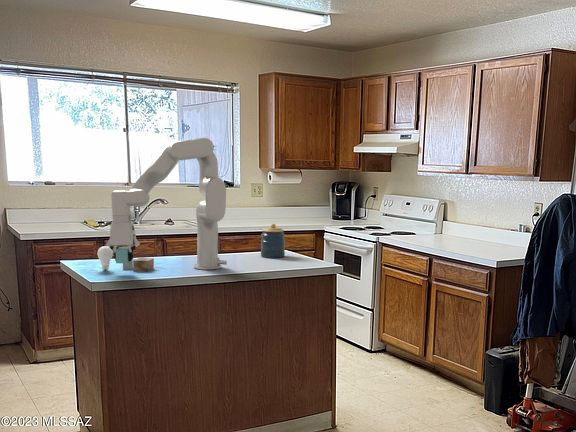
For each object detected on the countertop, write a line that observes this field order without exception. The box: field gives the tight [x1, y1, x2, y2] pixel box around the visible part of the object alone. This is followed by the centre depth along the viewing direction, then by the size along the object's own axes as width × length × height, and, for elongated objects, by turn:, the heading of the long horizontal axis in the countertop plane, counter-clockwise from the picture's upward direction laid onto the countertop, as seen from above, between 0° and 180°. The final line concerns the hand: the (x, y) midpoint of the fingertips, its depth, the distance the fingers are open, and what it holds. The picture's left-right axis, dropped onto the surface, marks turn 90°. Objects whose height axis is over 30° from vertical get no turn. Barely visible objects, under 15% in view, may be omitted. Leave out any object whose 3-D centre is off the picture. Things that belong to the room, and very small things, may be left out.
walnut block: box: [132, 257, 155, 273], centre depth 238 cm, size 7×7×5 cm
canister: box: [260, 223, 286, 259], centre depth 281 cm, size 13×13×18 cm
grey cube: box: [122, 258, 134, 270], centre depth 240 cm, size 4×4×4 cm
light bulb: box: [97, 245, 114, 272], centre depth 234 cm, size 7×7×11 cm
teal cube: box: [115, 247, 131, 264], centre depth 227 cm, size 5×5×6 cm
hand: (123, 260), depth 227 cm, fingers closed on teal cube, 5 cm apart
